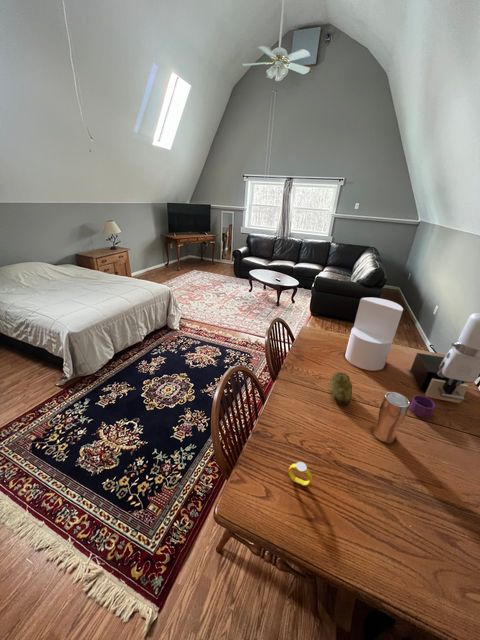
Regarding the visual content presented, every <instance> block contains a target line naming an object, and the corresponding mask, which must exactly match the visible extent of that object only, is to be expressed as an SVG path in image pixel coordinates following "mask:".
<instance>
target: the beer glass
mask: <svg viewBox="0 0 480 640" xmlns="http://www.w3.org/2000/svg"><path fill="white" fill-rule="evenodd" d="M410 404H411V401H410V400H409V399H408V398H407V397H406V396H404V395H403V394H401V393H399V392H395V391H388V392H386V393H384V397H383V398H382V401H381V404H380V406H379V409H378V418H377V419H378V420H377V423H376V425H375V427H374V428H373V431H372V433H373V436H374V437H375V439H377V440H379V441H380V442H382V443H386V444H391V443H393V442H394V441H395V437H396V432H397V430H398V429H399V428H400V426H401V425H402V423H403V422H404V420H405V419H406V416H407V414H408V411H409V408H410V407H409V406H410Z"/></svg>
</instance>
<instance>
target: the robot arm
mask: <svg viewBox="0 0 480 640" xmlns="http://www.w3.org/2000/svg"><path fill="white" fill-rule="evenodd" d="M450 345H451V347H452V348H450V349H449V350H448V352H447V353H446V354H445V356H444V357H445V358H444V359H443V361H442V363H441V365H440V367H439V371H438V372H437V375H438V376H440V377H442V378H444V379H445V380H446V382H445V384H444V386H443V390H444V391H445V393H447V394H452V393H453V392H454V390H455V389H456V387H457V386H459V385H460V384H462V383H463V384H465V383H469V384H471V383H475V382H476V381H477V379H478V378H479V376H480V312H474V313H471V314H470V315H469V317H468V318H467V321H466V323H465V325H464V327H463V329H462V331H461V333H460V335H459V338H458V339H457V340H456V342H452V343H451V344H450Z"/></svg>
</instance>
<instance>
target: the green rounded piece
mask: <svg viewBox="0 0 480 640" xmlns="http://www.w3.org/2000/svg"><path fill="white" fill-rule="evenodd" d="M330 392H331V397H332V398H333V400H334V401H335V402H336V403H337V404H339V405H340V406H343V407H344V406H345V407H346V406H349V404H350V403H351V402H352V395H353V394H352V393H353V384H352V382H351V379H350V376H349V375H348V374H347V373H345V372H341V371H337V372H335V373H334V374H333V375H332V376H331V378H330Z"/></svg>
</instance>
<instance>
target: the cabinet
mask: <svg viewBox="0 0 480 640" xmlns="http://www.w3.org/2000/svg"><path fill="white" fill-rule="evenodd" d="M444 358H445V356H438V355H432V354H427V353H420V352H416V354H415V357H414V359H413V361H412V365H411V368H410V370H409V373H410V374H411V376H412V378H413V380H414V382H415V384H416V385H417V388H418V391H419V392H424V393H426V391H425V389H424V386H425V383H426V381H427V379H428V376H429V374H436V375H437V372H438V371H439V367H440V365H441V363H442V361H443V359H444Z"/></svg>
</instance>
